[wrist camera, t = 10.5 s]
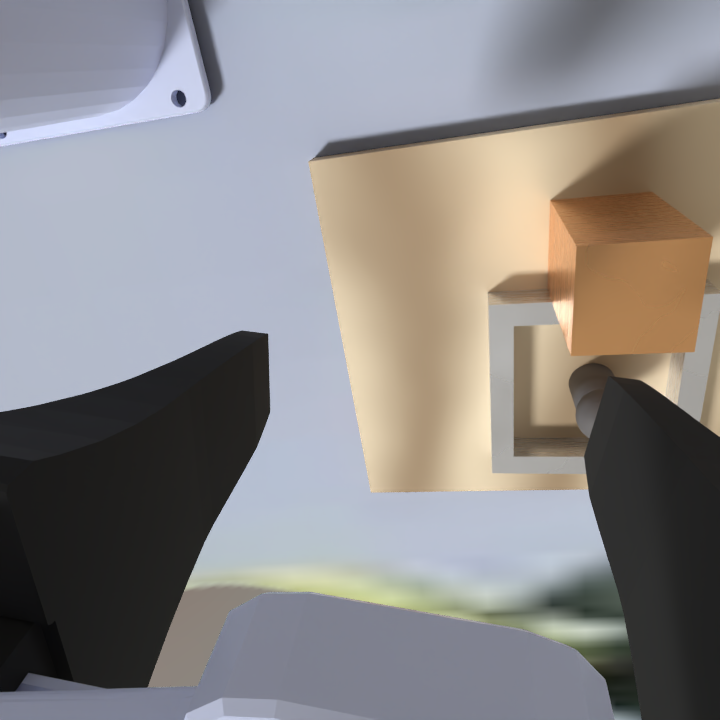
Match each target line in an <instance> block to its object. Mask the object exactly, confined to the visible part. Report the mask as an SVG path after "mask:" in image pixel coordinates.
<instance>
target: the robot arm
mask: <svg viewBox="0 0 720 720" xmlns="http://www.w3.org/2000/svg"><path fill="white" fill-rule="evenodd" d="M179 90H180V91H182V92H183V93H184V94H185V96H186V104H185V106H181V105H180V104H179V103H178V101H177V99H176V94H177V92H178V91H179ZM210 102H211V92H210V88H209V84H208V80H207V76H206V72H205V68H204V64H203V60H202V56H201V52H200V48H199V44H198V40H197V36H196V32H195V28H194V24H193V20H192V16H191V12H190V8H189V4H188V0H0V147H1V146H7V145H12V144H18V143H24V142H30V141H36V140H41V139H47V138H53V137H59V136H65V135H70V134H76V133H82V132H88V131H94V130H99V129H105V128H111V127H117V126H123V125H128V124H134V123H140V122H146V121H152V120H157V119H163V118H169V117H175V116H181V115H186V114H192V113H198V112H202V111H204V110H206V109H207V108H208V107H209V105H210ZM4 132H7V135H6V136H5V135H4V134H3V133H4ZM269 414H270V390H269V351H268V334H265V333H257V332H249V331H239V332H236V333H233V334H231V335H228V336H226V337H224V338H221V339H219V340H217V341H215V342H213V343H211V344H209V345H207V346H205V347H202V348H200V349H198V350H196V351H194V352H192V353H190V354H188V355H185V356H183V357H181V358H179V359H177V360H175V361H172V362H170V363H168V364H165V365H163V366H161V367H158V368H156V369H153V370H151V371H149V372H146V373H144V374H142V375H139V376H137V377H134V378H131V379H129V380H126V381H123V382H120V383H117V384H115V385H111V386H108V387H105V388H102V389H99V390H96V391H92V392H89V393H85V394H82V395H78V396H74V397H70V398H65V399H61V400H57V401H53V402H49V403H45V404H41V405H37V406H32V407H26V408H21V409H16V410H10V411H5V412H0V720H614V715H613V711H612V707H611V702H610V698H609V693H608V689H607V684H606V680H605V679H604V678H603V677H602V676H601V675H600V674H599V673H598V672H597V671H596V670H595V668H594V667H593V666H592V665H591V664H590V663H589V662H588V661H587V660H586V659H585V658H584V657H583V656H582V655H581V654H580V653H579V652H578V651H577V650H576V649H574V648H572V647H570V646H568V645H565V644H562V643H560V642H557V641H554V640H551V639H549V638H546V637H543V636H540V635H538V634H535V633H532V632H529V631H527V630H524V629H518V628H512V627H507V626H501V625H495V624H490V623H484V622H478V621H473V620H467V619H461V618H456V617H450V616H444V615H439V614H433V613H427V612H421V611H416V610H410V609H404V608H399V607H393V606H387V605H382V604H376V603H370V602H365V601H359V600H353V599H348V598H342V597H336V596H331V595H325V594H319V593H313V592H269V593H263V594H260V595H258V596H256V597H255V598H253V599H251V600H249V601H247V602H245V603H243V604H242V605H240V606H238V607H236V608H234V609H232V610H230V611H229V613H228V616H227V618H226V621H225V623H224V625H223V627H222V630H221V632H220V635H219V637H218V639H217V642H216V644H215V646H214V649H213V651H212V654H211V656H210V658H209V660H208V663H207V665H206V668H205V670H204V672H203V675H202V677H201V679H200V682H199V684H198V686H184V687H183V686H181V687H149V688H147V687H148V684H149V681H150V679H151V676H152V673H153V670H154V668H155V665H156V662H157V660H158V657H159V654H160V651H161V649H162V646H163V643H164V641H165V638H166V635H167V632H168V630H169V627H170V625H171V622H172V619H173V617H174V614H175V612H176V610H177V607H178V604H179V602H180V600H181V597H182V594H183V592H184V590H185V587H186V585H187V582H188V580H189V577H190V575H191V573H192V570H193V568H194V566H195V563H196V561H197V558H198V556H199V554H200V551H201V549H202V547H203V544H204V542H205V540H206V538H207V536H208V534H209V532H210V530H211V528H212V526H213V524H214V522H215V521H216V519H217V517H218V515H219V514H220V512H221V510H222V508H223V507H224V505H225V503H226V501H227V500H228V498H229V496H230V494H231V493H232V491H233V489H234V487H235V486H236V484H237V482H238V480H239V479H240V477H241V475H242V473H243V471H244V470H245V468H246V466H247V464H248V462H249V461H250V459H251V457H252V455H253V453H254V451H255V450H256V448H257V445H258V443H259V440H260V438H261V435H262V433H263V430H264V427H265V425H266V422H267V419H268V416H269ZM584 460H585V468H586V477H587V483H588V490H589V496H590V500H591V503H592V507H593V510H594V514H595V517H596V521H597V524H598V527H599V531H600V534H601V537H602V540H603V544H604V547H605V550H606V553H607V557H608V560H609V563H610V566H611V570H612V573H613V576H614V579H615V583H616V586H617V589H618V593H619V597H620V601H621V605H622V608H623V612H624V618H625V623H626V628H627V634H628V639H629V645H630V650H631V656H632V661H633V667H634V674H635V680H636V686H637V693H638V699H639V705H640V711H641V718H642V720H720V437H719V436H718V435H716V434H715V433H714V432H712V431H711V430H710V429H708V428H707V427H705V426H704V425H703V424H701V423H700V422H699V421H697V420H696V419H695V418H693V417H692V416H691V415H689V414H688V413H687V412H685V411H684V410H682V409H681V408H680V407H678V406H677V405H676V404H674V403H673V402H672V401H670V400H669V399H668V398H666V397H665V396H664V395H662V394H661V393H659V392H658V391H657V390H655V389H654V388H652V387H651V386H649V385H648V384H646V383H644V382H643V381H641V380H637V379H629V378H621V377H613V376H608V379H607V382H606V385H605V389H604V392H603V395H602V398H601V402H600V405H599V408H598V412H597V415H596V418H595V421H594V425H593V428H592V431H591V434H590V438H589V441H588V444H587V448H586V451H585V454H584Z"/></svg>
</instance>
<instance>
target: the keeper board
mask: <svg viewBox="0 0 720 720" xmlns="http://www.w3.org/2000/svg"><path fill="white" fill-rule="evenodd" d="M309 167H310V173H311V178H312V183H313V188H314V194H315V199H316V204H317V210H318V215H319V220H320V225H321V231H322V236H323V241H324V247H325V252H326V257H327V262H328V268H329V273H330V278H331V284H332V289H333V294H334V299H335V305H336V310H337V315H338V321H339V326H340V331H341V336H342V342H343V347H344V352H345V357H346V363H347V368H348V373H349V379H350V384H351V389H352V394H353V400H354V405H355V410H356V416H357V421H358V426H359V431H360V437H361V442H362V447H363V453H364V458H365V463H366V468H367V474H368V479H369V484H370V490H371V492H436V491H504V490H571V489H588V483H587V477H586V474H514V473H492V463H491V433H490V386H489V340H488V293H487V292H498V291H517V290H535V289H547V284H548V249H549V215H550V200H558V199H570V198H582V197H593V196H605V195H617V194H629V193H641V192H653V193H654V194H656V195H657V196H659V197H660V198H661V199H663V200H664V201H665V202H667V203H668V204H669V205H671V206H672V207H673V208H675V209H676V210H678V211H679V212H680V213H682V214H683V215H684V216H686V217H687V218H688V219H690V220H691V221H692V222H694V223H695V224H696V225H698V226H699V227H701V228H702V229H703V230H705V231H706V232H707V233H709V234H710V235H711V236H713V241H712V248H711V254H710V260H709V266H708V272H707V278H706V280H709V281H710V282H711V283H712V284H713V285H714V286H715V287H716V288H717V289H719V290H720V98H719V99H712V100H705V101H699V102H692V103H685V104H678V105H671V106H665V107H658V108H651V109H644V110H637V111H630V112H624V113H617V114H610V115H603V116H596V117H590V118H583V119H576V120H569V121H562V122H555V123H549V124H542V125H535V126H528V127H521V128H515V129H508V130H501V131H494V132H487V133H480V134H474V135H467V136H460V137H453V138H446V139H440V140H433V141H426V142H419V143H412V144H405V145H399V146H392V147H385V148H378V149H371V150H365V151H358V152H351V153H344V154H337V155H330V156H324V157H317V158H313V159H312V160H310V161H309ZM670 359H671V353H653V354H622V355H591V356H571V355H570V352H569V349H568V347H567V344H566V341H565V338H564V335H563V332H562V329H561V326H560V324H554V325H531V326H514V438H590V434H591V431H592V428H593V425H594V421H595V418H596V415H597V412H598V408H599V405H600V402H601V398H602V395H603V392H604V389H605V385H606V382H607V379H608V376H613V377H621V378H629V379H637V380H641V381H643V382H644V383H646V384H648V385H649V386H651V387H652V388H654V389H655V390H657V391H658V392H659V393H661V394H662V395H664V396H665V394H666V387H667V380H668V373H669V366H670ZM700 423H701V424H703V425H704V426H705V427H707V428H708V429H710V430H711V431H712V432H714V433H715V434H716V435H718V436H719V437H720V312H719V318H718V323H717V329H716V334H715V340H714V346H713V351H712V357H711V363H710V368H709V374H708V380H707V385H706V391H705V396H704V402H703V408H702V413H701V419H700Z"/></svg>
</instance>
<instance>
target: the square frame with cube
mask: <svg viewBox="0 0 720 720" xmlns="http://www.w3.org/2000/svg"><path fill="white" fill-rule="evenodd" d="M712 241H713V236H711V235H710V234H709V233H707V232H706V231H705V230H703V229H702V228H701V227H699V226H698V225H696V224H695V223H694V222H692V221H691V220H690V219H688V218H687V217H686V216H684V215H683V214H682V213H680V212H679V211H678V210H676V209H675V208H673V207H672V206H671V205H669V204H668V203H667V202H665V201H664V200H663V199H661V198H660V197H659V196H657V195H656V194H654V193H653V192H641V193H629V194H617V195H605V196H593V197H582V198H570V199H558V200H550V215H549V249H548V284H547V289H535V290H517V291H498V292H487V293H488V340H489V386H490V433H491V463H492V473H514V474H586V468H585V460H584V454H585V451H586V448H587V444H588V441H589V438H514V326H531V325H554V324H560V326H561V329H562V332H563V335H564V338H565V341H566V344H567V347H568V349H569V352H570V355H571V356H591V355H622V354H653V353H671V359H670V366H669V373H668V380H667V387H666V394H665V397H666V398H668V399H669V400H670V401H672V402H673V403H674V404H676V405H677V406H678V407H680V408H681V409H682V410H684V411H685V412H687V413H688V414H689V415H691V416H692V417H693V418H695V419H696V420H697V421H699V422H700V419H701V413H702V408H703V402H704V396H705V391H706V385H707V380H708V374H709V368H710V363H711V357H712V351H713V346H714V340H715V334H716V329H717V323H718V318H719V312H720V290H719V289H717V288H716V287H715V286H714V285H713V284H712V283H711V282H710V281H709V280H706V278H707V272H708V266H709V260H710V254H711V248H712Z"/></svg>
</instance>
